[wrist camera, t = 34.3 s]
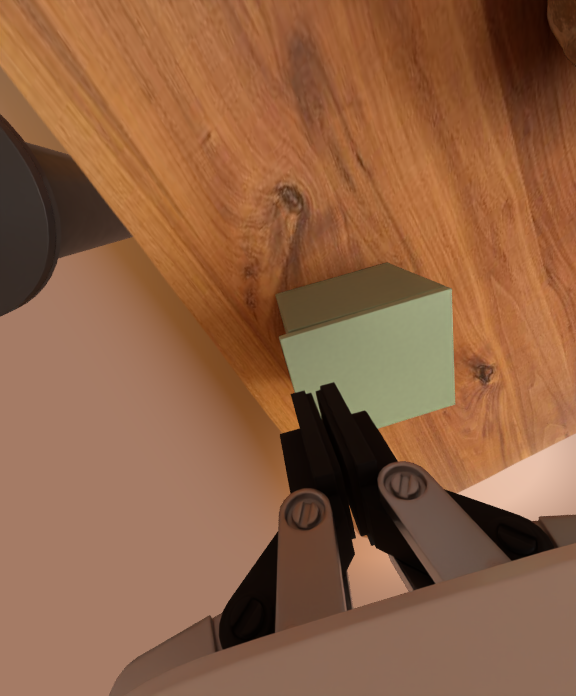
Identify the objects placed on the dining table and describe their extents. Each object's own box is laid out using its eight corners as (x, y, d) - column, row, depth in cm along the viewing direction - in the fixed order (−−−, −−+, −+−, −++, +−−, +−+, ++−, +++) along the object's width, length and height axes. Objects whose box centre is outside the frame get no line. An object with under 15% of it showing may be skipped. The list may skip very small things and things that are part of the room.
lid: (309, 444, 33) (311, 449, 32) (278, 336, 28) (279, 339, 27) (450, 400, 34) (455, 404, 33) (446, 285, 28) (451, 288, 28)
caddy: (298, 378, 45) (317, 438, 34) (275, 294, 40) (287, 330, 28) (397, 349, 45) (450, 399, 34) (387, 262, 40) (445, 285, 28)
